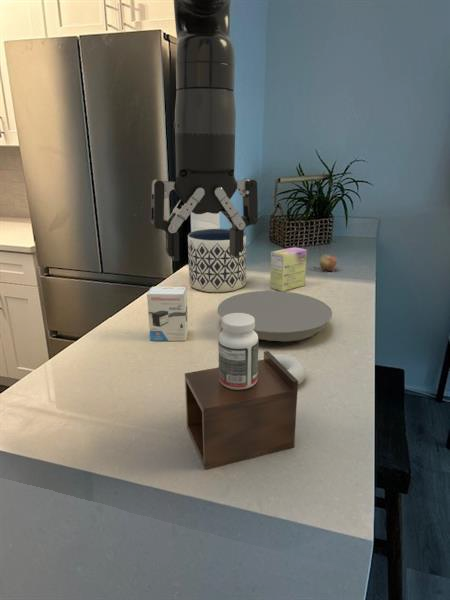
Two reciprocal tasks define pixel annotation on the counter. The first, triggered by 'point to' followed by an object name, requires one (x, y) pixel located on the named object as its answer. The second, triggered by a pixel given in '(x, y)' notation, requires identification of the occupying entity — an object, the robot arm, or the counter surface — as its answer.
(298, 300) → the flat disc
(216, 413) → the open wooden cube
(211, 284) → the planter
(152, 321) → the ink box
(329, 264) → the apple
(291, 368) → the donut
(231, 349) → the pill bottle
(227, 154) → the robot arm
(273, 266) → the box
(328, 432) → the counter surface
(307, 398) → the counter surface
